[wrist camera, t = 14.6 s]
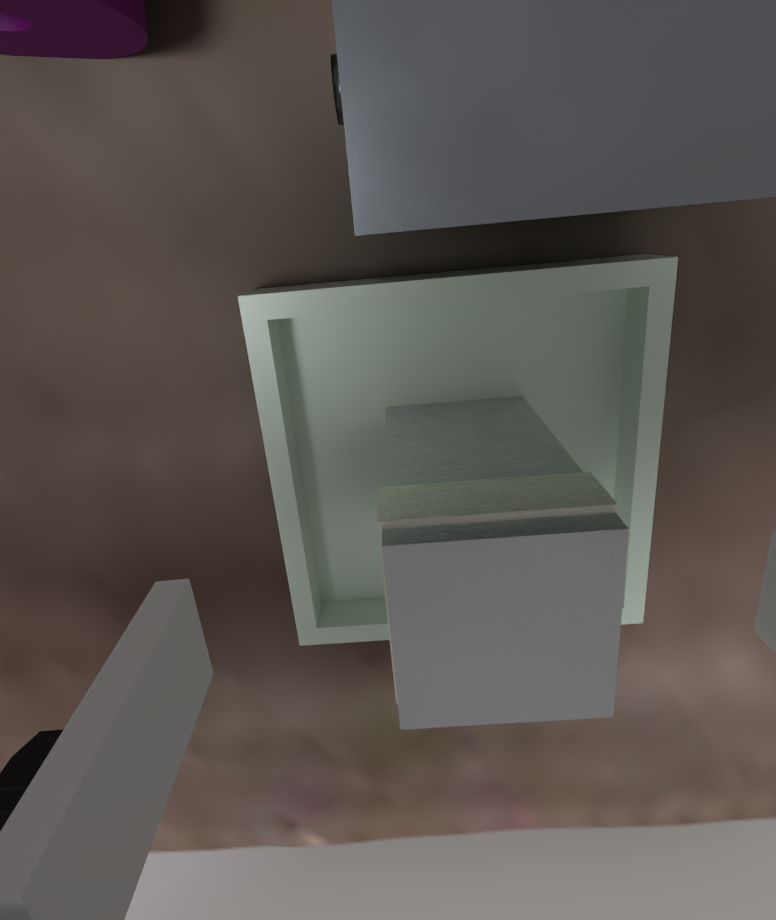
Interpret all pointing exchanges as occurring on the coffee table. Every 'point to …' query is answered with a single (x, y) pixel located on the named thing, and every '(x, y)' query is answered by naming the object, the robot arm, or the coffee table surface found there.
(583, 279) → the tray
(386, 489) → the module
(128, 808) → the robot arm
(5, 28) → the mounting bracket
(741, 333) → the coffee table surface
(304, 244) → the coffee table surface
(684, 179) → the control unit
